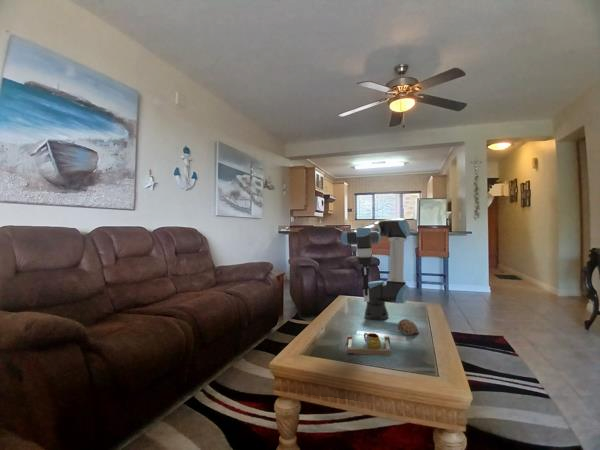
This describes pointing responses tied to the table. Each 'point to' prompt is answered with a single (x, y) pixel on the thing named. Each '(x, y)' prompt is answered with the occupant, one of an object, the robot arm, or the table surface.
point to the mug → (372, 341)
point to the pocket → (369, 350)
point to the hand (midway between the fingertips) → (366, 301)
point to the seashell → (407, 327)
